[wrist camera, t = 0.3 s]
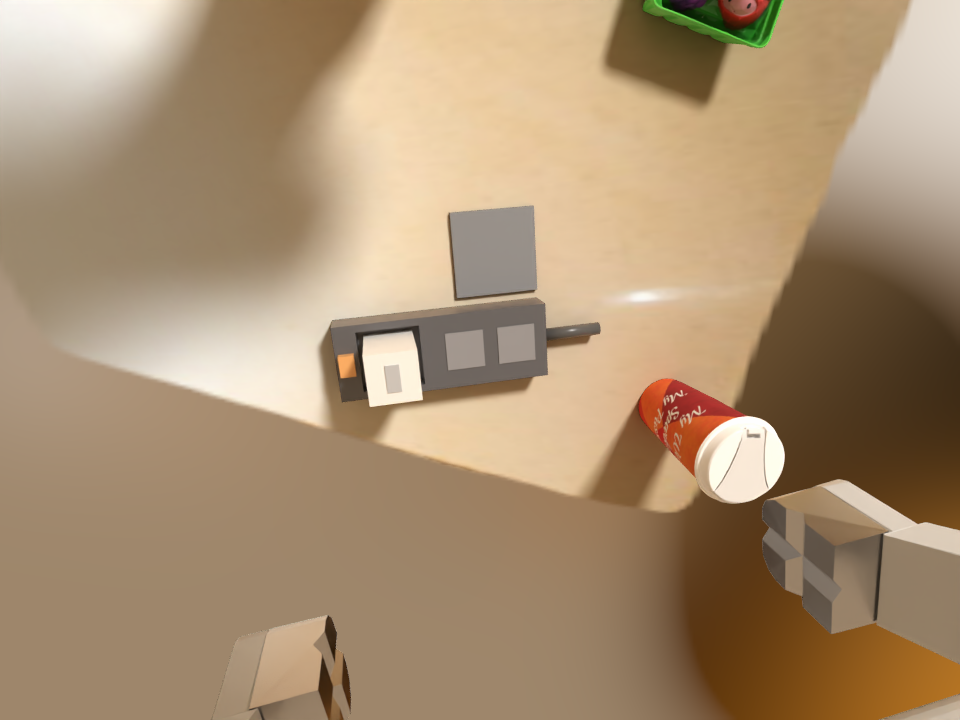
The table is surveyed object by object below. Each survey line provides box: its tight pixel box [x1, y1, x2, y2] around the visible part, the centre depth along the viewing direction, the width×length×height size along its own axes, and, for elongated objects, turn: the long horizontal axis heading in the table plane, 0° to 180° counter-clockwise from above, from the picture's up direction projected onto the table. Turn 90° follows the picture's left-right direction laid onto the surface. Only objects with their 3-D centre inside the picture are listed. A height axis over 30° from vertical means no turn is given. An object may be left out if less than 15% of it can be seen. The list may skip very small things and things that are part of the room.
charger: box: [362, 329, 423, 407], centre depth 51 cm, size 4×4×7 cm
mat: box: [449, 206, 537, 298], centre depth 55 cm, size 8×8×1 cm
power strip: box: [330, 298, 600, 402], centre depth 55 cm, size 7×26×4 cm, turn 94°
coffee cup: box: [639, 379, 784, 504], centre depth 56 cm, size 8×8×15 cm
